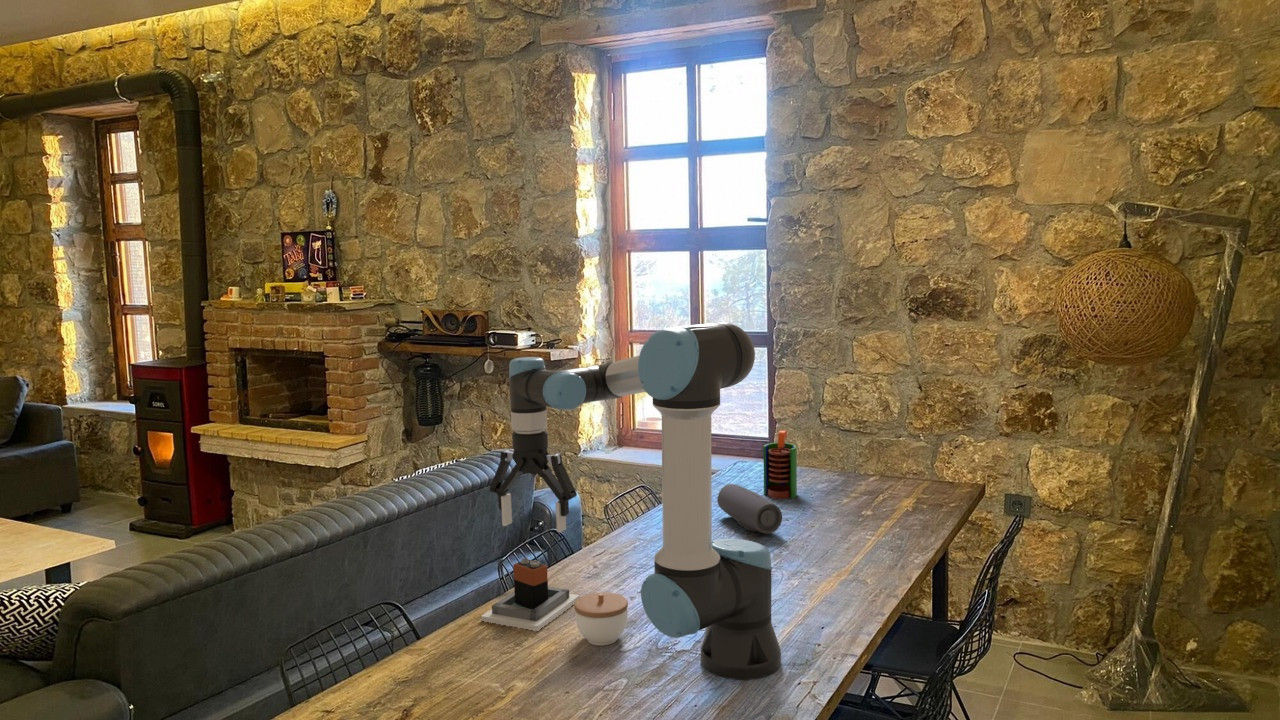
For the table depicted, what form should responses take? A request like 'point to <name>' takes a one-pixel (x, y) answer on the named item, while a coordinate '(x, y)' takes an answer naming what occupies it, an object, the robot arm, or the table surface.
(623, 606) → the lidded jar
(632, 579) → the table surface
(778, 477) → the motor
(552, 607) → the charging dock
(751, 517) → the bluetooth speaker
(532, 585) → the battery
